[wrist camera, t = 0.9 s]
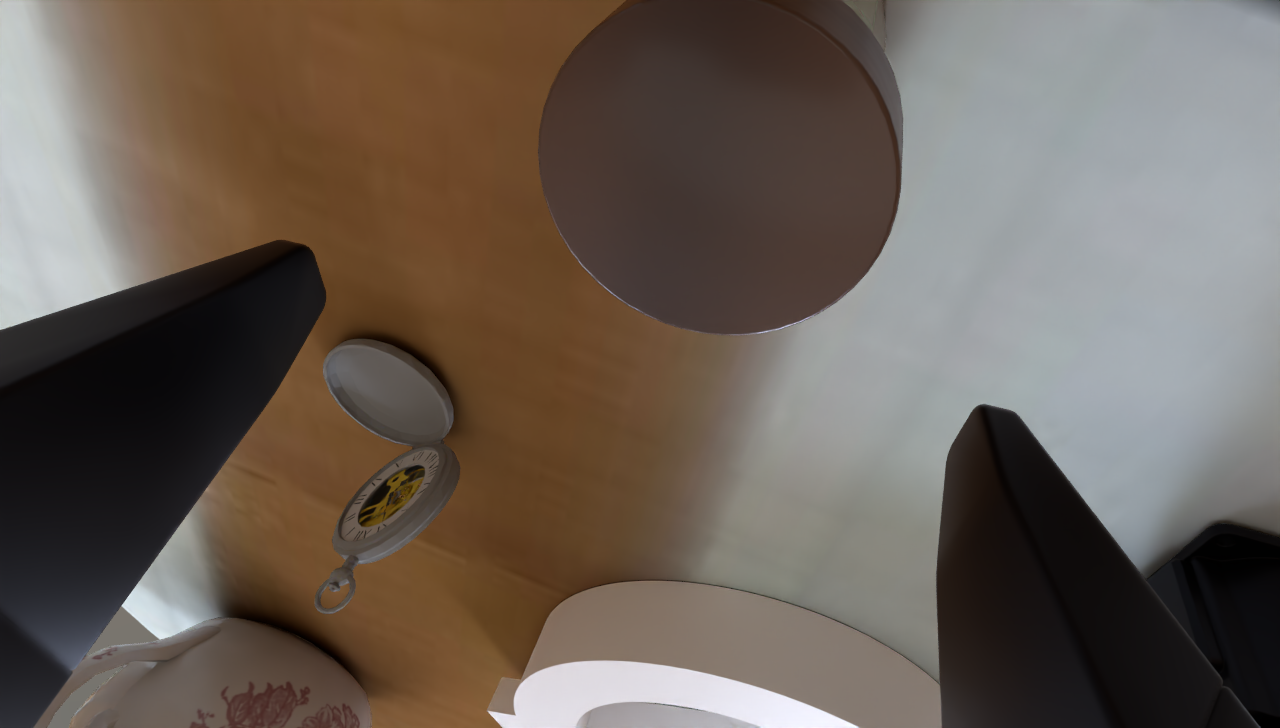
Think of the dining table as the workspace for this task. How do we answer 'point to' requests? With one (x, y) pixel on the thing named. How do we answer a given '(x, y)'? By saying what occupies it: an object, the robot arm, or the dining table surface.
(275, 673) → the chamber pot
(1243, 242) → the dining table surface
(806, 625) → the ring with crossbar
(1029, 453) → the robot arm
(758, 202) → the dark brown wooden disc
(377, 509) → the pocket watch
